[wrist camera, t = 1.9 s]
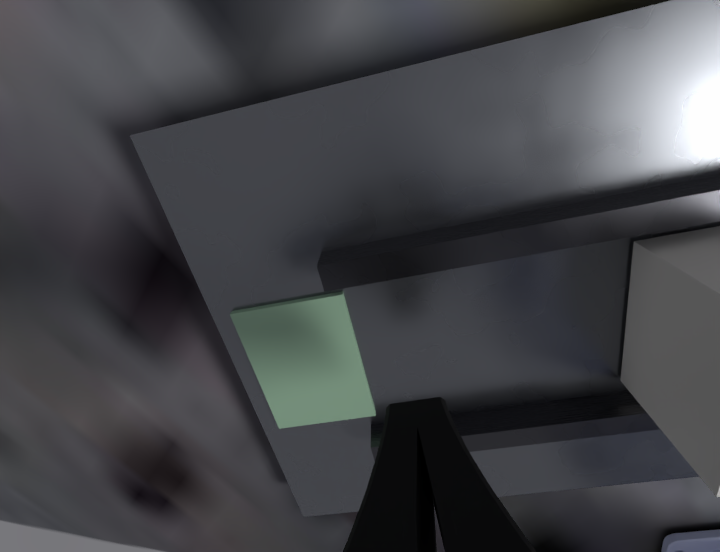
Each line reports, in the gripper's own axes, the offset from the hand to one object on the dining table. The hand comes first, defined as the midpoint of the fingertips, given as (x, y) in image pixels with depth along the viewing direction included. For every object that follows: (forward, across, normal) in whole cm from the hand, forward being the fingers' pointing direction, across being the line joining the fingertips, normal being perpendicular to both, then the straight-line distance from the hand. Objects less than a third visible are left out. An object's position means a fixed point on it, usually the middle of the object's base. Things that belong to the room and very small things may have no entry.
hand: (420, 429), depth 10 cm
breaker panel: (+5, -8, 0) cm, 9 cm away
